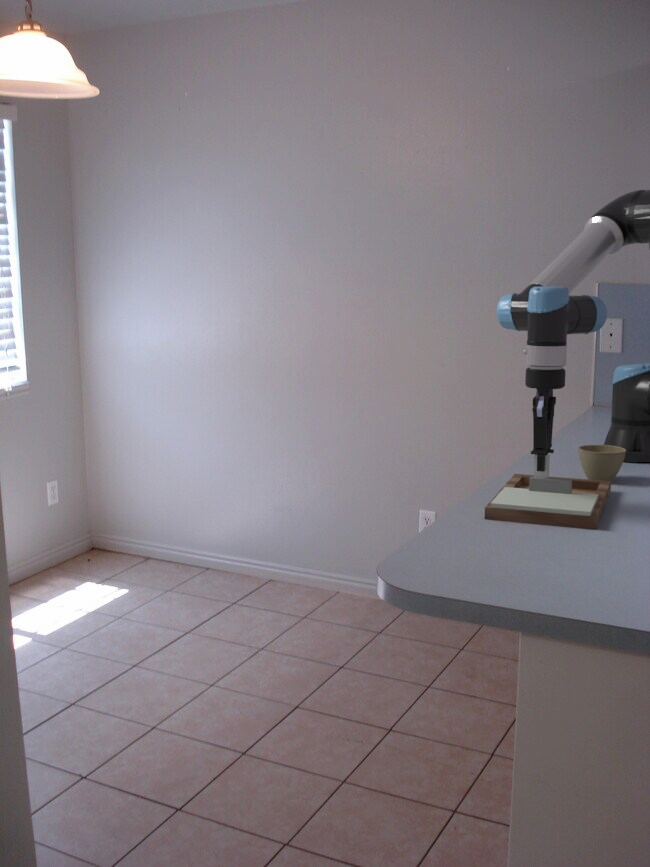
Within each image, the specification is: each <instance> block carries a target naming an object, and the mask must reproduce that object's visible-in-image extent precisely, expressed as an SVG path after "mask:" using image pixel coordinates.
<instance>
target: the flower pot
mask: <svg viewBox="0 0 650 867" xmlns="http://www.w3.org/2000/svg"><path fill="white" fill-rule="evenodd" d="M625 453H626V450H625V449H624V448H621V447H616V446H609V445H603V444H583V445H580V446H578V457H579V461H580V465H581V468H582V470H583V472H584V474H585V476H586V479H589V480H602V481H611V483H612V482H613V481H614V479H615V478H616V477H617V475H618V473H619V472H620V470H621V468H622V466H623V463H624V457H625Z"/></svg>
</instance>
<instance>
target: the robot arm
mask: <svg viewBox="0 0 650 867" xmlns="http://www.w3.org/2000/svg"><path fill="white" fill-rule="evenodd" d="M583 228H584V229H583V231H582V232H581V233H580V234H579V235H578V236H577V237H576V238H575V239H574V240H573V241H572V242H571V243H570V244H569V245H568V246H566V248H565V249H564V250H563V251H562V252H560V254H558V256H556V258H555V259H553V261H552V262H551V263H549V264H548V265H547V266H546V268H545V269H543V270H542V271H541V272H540V273H539V274H538V275H537V277H535V278H534V279H533V280H532V281H531V282H530V283H529V284H528V285H527V286H526V287H525V288H524V289H522V291H521V292H519V293H517V292H514V293H507V294H505V295H503V296H501V298H500V299H499V301H498V303H497V307H496V317H497V320H498V323H499V324H500V326H501V327H502V328H504V329H506V330H512V331H517V332H521V331H522V332H525V331H526V332H527V340H526V348H525V349H524V350H523V354H524V355H526V360H525V363H526V365H527V366H529V367H527V368H526V369H525V379H524V380H525V383H524V384H525V386H526V387H527V388H529V389H535V390H536V395H534V397H532V408H531V409H532V419H533V432H532V434H533V439H532V440H533V446H532V447H533V448H532V450H531V451H530V455H534V467H533V469H534V470H533V475H534V477H541V478H549V476H550V463H551V462H550V459H551V458H550V457H551V454H554V451H555V449H553V448H552V446H553V444H552V443H553V442H552V440H553V426H554V418H555V406H556V404H557V397H556V396H554V390H560V389H563V388H564V387H565V386H566V369H565V368H564V367H565V366H566V365H567V358H568V357H567V354H568V350H567V349H568V346H567V343H568V342H567V340H568V335H577V334H578V335H583V334H584V335H588V334H590V333H595V332H598V331H599V330H601V329H602V327H603V326H604V325H605V324H606V321H607V316H608V310H607V306H606V304H605V302H604V301H603V300H602V299H601V298H600V297H598V296H595V295H591V294H590V295H589V294H582V295H571V293H572V292H573V291H575V289H576V288H577V287H578V286H579V285H580V284H581V283H582V282H583V281H584V280H585V279H586V278H587V277H588V276H589V275H590V274H591V273H592V272H593V271H594V270H595V269H596V268H597V266H598V265H600V264H601V263H602V262H603V260H604V259H606V258H607V256H608V255H613V254H615V253H617V252H619V251H620V249H622V248H623V247H625V246H629V245H632V244H633V245H634V244H648V246H649V247H648V248H649V249H650V189H638V190H633V191H629V192H627V193H625V194H622V195H619V196H618V197H616V198H615V199H613V200H611V201H610V202H609V203H607V204H605V205H603V206H602V207H601V208H600V209H599V210H598V211H596V212H595V213H594V214H593V215H592V216H590V218H589V219H587V221H586V222H585V225H584V227H583ZM613 371H614V372H613V379H612V383H611V385H612V393H611V394H612V396H611V418H610V427H609V429H608V432H607V434H606V437H605V439H604V443H603V444H602V445H609V446H616V447H621V448H624V449H625V450H626V453H625V457H624V461H623V463H624V462H626V463H637V462H650V362H649V363H648V362H646V363H633V364H632V363H631V364H623V365H619V366H617V367H616V368H615V369H614V370H613Z"/></svg>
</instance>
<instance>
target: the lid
mask: <svg viewBox="0 0 650 867" xmlns="http://www.w3.org/2000/svg"><path fill="white" fill-rule="evenodd" d="M503 487H504V486H503ZM597 500H598V495H597V494H585V493H573V492H572V480H568V479H554V478H541V477H530V478H529V489H524V488H511V487H504V489H503V490H502V491H501V492H500V493H499V494H498V495H497V497H496V498H495V499H494V500H493V501H492V502H491V507H492V508H504V509H515V510H526V511H537V512H548V513H560V514H571V515H582V516H591V514H592V512H593V509H594V507H595V505H596V502H597Z"/></svg>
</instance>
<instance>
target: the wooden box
mask: <svg viewBox="0 0 650 867" xmlns="http://www.w3.org/2000/svg"><path fill="white" fill-rule="evenodd" d="M530 477H534V474H519V473H514V474H513V475H512V476H511V477H510V478H509V480H508V481H506V483H505V484H504V485H503V487H501V488H500V490H498V492H497V493H496V494H495V495H494V497H492V499H491V500H490V501H489V503H487V504H486V505H485V506H484V519H485V520H492V521H493V520H494V521H503V522H515V523H524V524H535V525H545V526H555V527H567V528H577V529H589V530H597V527H598V524H599V522H600V519H601V517H602V513H603V511H604V510H605V507H606V504H607V501H608V499H609V497H610V493H611V489H612V487H611V486H612V484H611V483H612V482H611V481H602V480H589V479H588V478H575V477H564V476H563V477H561V476H550V475H549V478H554V479H568V480H572V492H573V493H585V494H597V495H598V500H597V502H596V505H595V507H594V509H593V512H592V514H591V516H582V515H571V514H560V513H548V512H537V511H526V510H515V509H504V508H492V507H491V502H492V501H493V500H494V499H495V498H496V497H497V495H498V494H499V493H500V492H501V491H502V490H503V489H504V487H511V488H524V489H529V478H530Z"/></svg>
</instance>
